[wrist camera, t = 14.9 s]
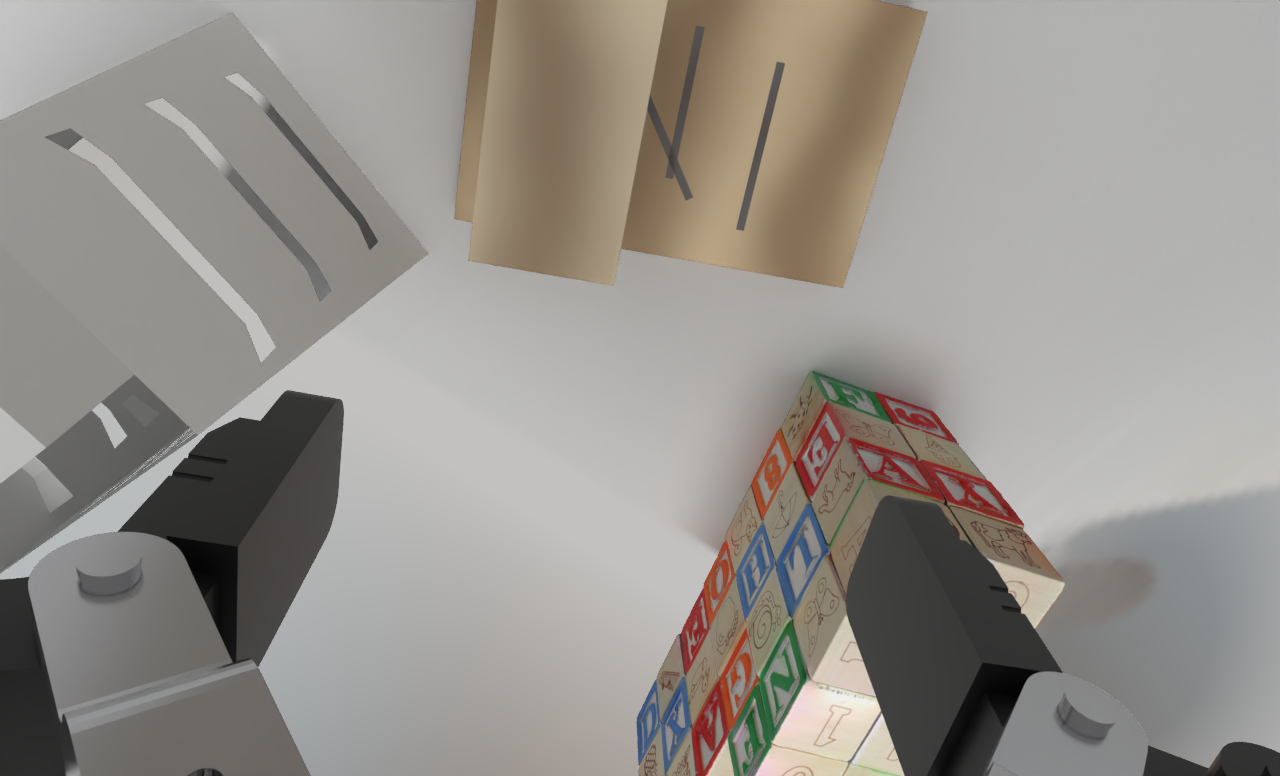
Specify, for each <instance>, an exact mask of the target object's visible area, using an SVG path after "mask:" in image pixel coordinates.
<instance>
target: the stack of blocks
mask: <svg viewBox="0 0 1280 776" xmlns="http://www.w3.org/2000/svg"><path fill="white" fill-rule="evenodd" d="M887 495H891V496H897V497H902V498H908V499H914V500H920V501H926V502H932V503H936V504H937V505H939V506H940V508H941V509H942V511H943V512H944V514H945V516H946V517H947V519H948V521H949V522H950V524H951V525H952V527H953V529H954V530H955V532H956V534H957V535H958V537H959V538H960V540H964V541H967V542H968V543H969V544H970V545H972V546H973V547H974V548H975V549H976V550H977V551H978V552H980V553H981V554H982V555H983V556H984V557H985V558H986V559H987V560H989V561H990V562H991V563H992V564H993V565H994V567H995V568H996V570H997V571H998V573H999V574H1000V576H1001V578H1002V579H1003V581H1004V582H1005V584H1006V585H1007V587H1008V588H1009V589H1008V593H1012V595H1013V596H1014V598H1015V599H1016V601H1017V602H1018V604H1019V605H1020V607H1021V613H1022V614H1025V615H1026V616H1027V618H1028V619H1029V621H1030V623H1031V624H1032V626H1033V627H1034V629H1035V628H1036V627H1037V625H1038V624H1039V622H1040V621H1041V620H1042V618H1043V617H1044V615H1045V614H1046V613H1047V611H1048V610H1049V608H1050V607H1051V606H1052V604H1053V603H1054V602H1055V600H1056V599H1057V597H1058V596H1059V595H1060V593H1061V592H1062V590H1063V588H1064V585H1065V583H1064V580H1063V579H1062V578H1061V576H1060V575H1059V574H1058V572H1057V571H1056V570H1055V569H1054V567H1053V566H1052V565H1051V563H1050V562H1049V561H1048V560H1047V558H1046V557H1045V556H1044V555H1043V553H1042V552H1041V551H1040V550H1039V548H1038V547H1037V546H1036V545H1035V543H1034V542H1033V541H1032V540H1031V538H1030V537H1029V536H1028V535H1027V534H1026V533H1025V532H1024V531H1023V528H1024V524H1023V522H1022V521H1021V519H1020V518H1019V517H1018V516H1017V514H1016V512H1015V511H1014V510H1013V509H1012V508H1011V507H1010V505H1009V504H1008V503H1007V502H1006V501H1005V499H1004V498H1003V497H1002V495H1001V493H1000V492H998V491H997V490H996V488H995V487H994V486H993V484H992V483H991V482H989V481H987V479H986V478H985V476H984V475H983V474H982V473H981V472H980V471H979V469H978V468H977V467H976V466H975V465H974V463H973V462H972V461H971V460H970V458H969V457H968V456H967V454H966V453H965V452H964V451H963V450H962V449H961V447H960V446H959V444H958V443H957V441H956V439H955V438H954V437H953V436H952V434H951V433H950V432H949V430H947V428H946V427H945V426H944V424H943V423H942V422H941V420H940V419H939V418H938V416H937V415H936V414H935V413H934V412H932V411H929V410H926V409H923V408H920V407H917V406H914V405H911V404H908V403H906V402H903V401H900V400H897V399H894V398H891V397H888V396H885V395H882V394H879V393H873V392H870V391H867V390H864V389H861V388H858V387H855V386H853V385H850V384H847V383H844V382H841V381H838V380H836V379H833V378H830V377H827V376H824V375H821V374H819V373H816V372H813V371H811V372H810V373H809V374H808V376H807V378H806V380H805V382H804V384H803V386H802V388H801V390H800V392H799V394H798V396H797V398H796V400H795V402H794V404H793V406H792V408H791V410H790V412H789V413H788V415H787V417H786V419H785V421H784V423H783V425H782V427H781V429H779V430H778V432H777V433H776V435H775V437H774V439H773V441H772V443H771V445H770V447H769V449H768V451H767V453H766V455H765V457H764V459H763V461H762V463H761V465H760V467H759V469H758V471H757V473H756V475H755V477H754V479H753V481H752V484H751V486H750V487H749V489H748V491H747V493H746V495H745V497H744V498H743V500H742V502H741V504H740V507H739V509H738V511H737V513H736V515H735V517H734V519H733V521H732V523H731V525H730V527H729V529H728V531H727V534H726V541H725V543H724V544H723V545H722V548H721V551H720V552H719V555H718V557H717V559H716V561H715V562H714V565H713V566H712V569H711V571H710V573H709V575H708V577H707V579H706V581H705V583H704V588H703V590H702V591H701V593H700V596H699V597H698V599H697V601H696V603H695V605H694V607H693V609H692V611H691V613H690V616H689V617H688V619H687V621H686V623H685V625H684V627H683V630H682V633H681V634H679V635H677V637H676V639H675V641H674V643H673V645H672V647H671V649H670V651H669V653H668V655H667V657H666V659H665V661H664V663H663V665H662V667H661V669H660V671H659V673H658V676H657V679H656V681H655V682H654V684H653V686H652V688H651V690H650V692H649V694H648V696H647V698H646V701H645V703H644V704H643V706H642V709H641V711H640V713H639V715H638V717H637V735H638V761H639V766H640V767H639V776H904V773H903V770H902V767H901V764H900V762H899V759H898V756H897V753H896V751H895V748H894V745H893V742H892V740H891V737H890V734H889V731H888V728H887V726H886V723H885V720H884V717H883V715H882V712H881V709H880V706H879V704H878V701H877V698H876V695H875V692H874V690H873V687H872V684H871V681H870V679H869V676H868V673H867V670H866V668H865V665H864V662H863V659H862V656H861V654H860V651H859V648H858V645H857V643H856V640H855V637H854V634H853V632H852V629H851V626H850V623H849V620H848V617H847V611H846V593H847V586H848V581H849V578H850V575H851V572H852V570H853V567H854V564H855V562H856V559H857V557H858V554H859V551H860V549H861V546H862V544H863V541H864V539H865V536H866V533H867V531H868V528H869V526H870V523H871V520H872V518H873V515H874V513H875V510H876V508H877V506H878V504H879V502H880V501H881V500H882V498H884V497H885V496H887Z"/></svg>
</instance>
